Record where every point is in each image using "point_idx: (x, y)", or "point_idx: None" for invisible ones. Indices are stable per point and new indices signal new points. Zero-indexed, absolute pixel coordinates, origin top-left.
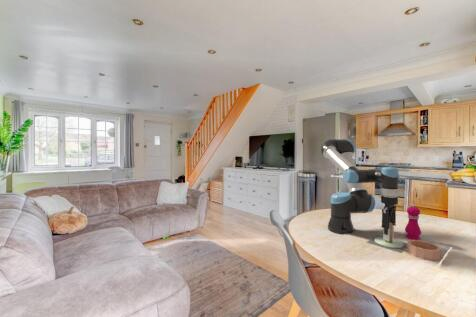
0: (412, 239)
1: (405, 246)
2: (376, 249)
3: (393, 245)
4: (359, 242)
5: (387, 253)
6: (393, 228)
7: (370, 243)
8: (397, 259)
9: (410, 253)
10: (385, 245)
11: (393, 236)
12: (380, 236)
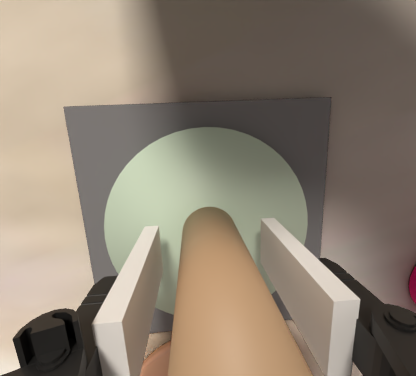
0: (413, 292)
1: None
2: (29, 212)
3: (162, 281)
4: (33, 55)
5: (36, 282)
6: (306, 342)
7: (72, 142)
8: (6, 346)
9: (142, 369)
10: (107, 249)
11: (268, 269)
12: (312, 127)
